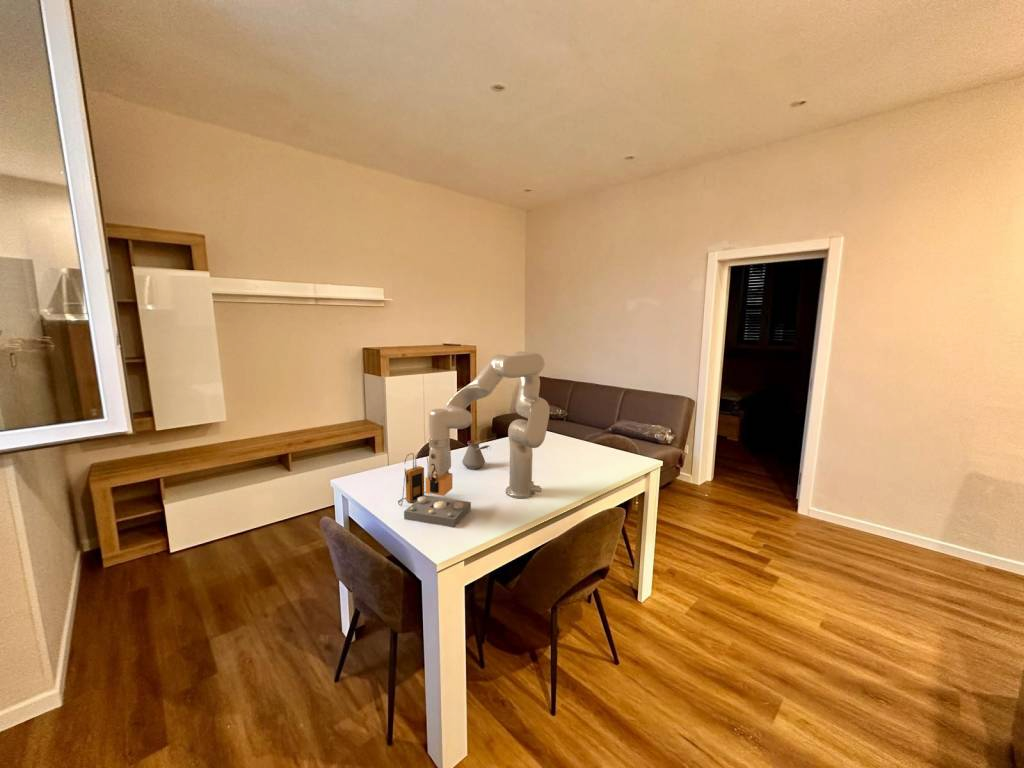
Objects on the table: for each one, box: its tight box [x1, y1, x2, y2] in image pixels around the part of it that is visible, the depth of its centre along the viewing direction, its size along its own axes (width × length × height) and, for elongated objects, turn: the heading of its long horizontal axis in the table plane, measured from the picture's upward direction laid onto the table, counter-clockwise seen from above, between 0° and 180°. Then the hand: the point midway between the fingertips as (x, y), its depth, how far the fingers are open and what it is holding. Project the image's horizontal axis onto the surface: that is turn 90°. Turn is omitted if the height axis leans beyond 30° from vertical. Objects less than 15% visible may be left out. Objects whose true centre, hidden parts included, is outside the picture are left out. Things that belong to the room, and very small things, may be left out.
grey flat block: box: [403, 494, 472, 528], centre depth 151 cm, size 20×15×4 cm
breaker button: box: [434, 501, 447, 509], centre depth 153 cm, size 5×5×3 cm
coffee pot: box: [461, 439, 492, 470], centre depth 198 cm, size 21×12×15 cm, turn 33°
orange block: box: [425, 472, 453, 497], centre depth 151 cm, size 7×7×6 cm
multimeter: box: [397, 450, 429, 506], centre depth 165 cm, size 15×10×20 cm
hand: (439, 487), depth 152 cm, fingers closed on orange block, 7 cm apart
